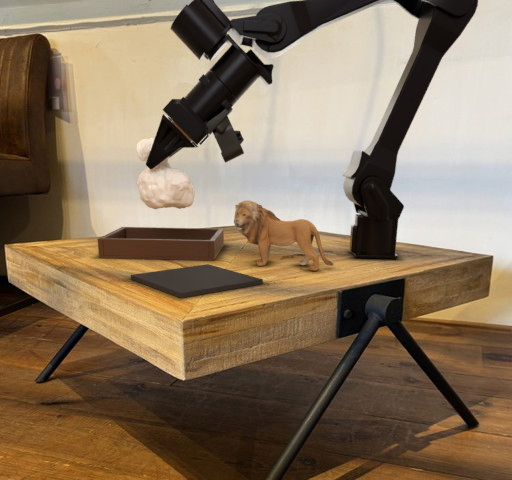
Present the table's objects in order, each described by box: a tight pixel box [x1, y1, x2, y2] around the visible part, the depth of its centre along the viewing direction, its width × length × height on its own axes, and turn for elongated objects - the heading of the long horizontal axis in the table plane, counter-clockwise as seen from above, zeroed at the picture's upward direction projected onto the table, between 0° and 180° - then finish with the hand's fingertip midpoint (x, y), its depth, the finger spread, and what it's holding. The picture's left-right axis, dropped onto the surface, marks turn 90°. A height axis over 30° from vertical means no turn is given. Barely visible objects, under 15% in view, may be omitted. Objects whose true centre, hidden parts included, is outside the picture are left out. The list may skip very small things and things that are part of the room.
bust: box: [136, 137, 196, 210], centre depth 85 cm, size 12×8×11 cm
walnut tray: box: [97, 226, 225, 261], centre depth 92 cm, size 18×14×3 cm
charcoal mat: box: [130, 263, 264, 299], centre depth 72 cm, size 12×12×1 cm
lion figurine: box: [233, 200, 334, 271], centre depth 81 cm, size 15×5×9 cm, turn 74°
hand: (150, 166), depth 85 cm, fingers closed on bust, 4 cm apart
